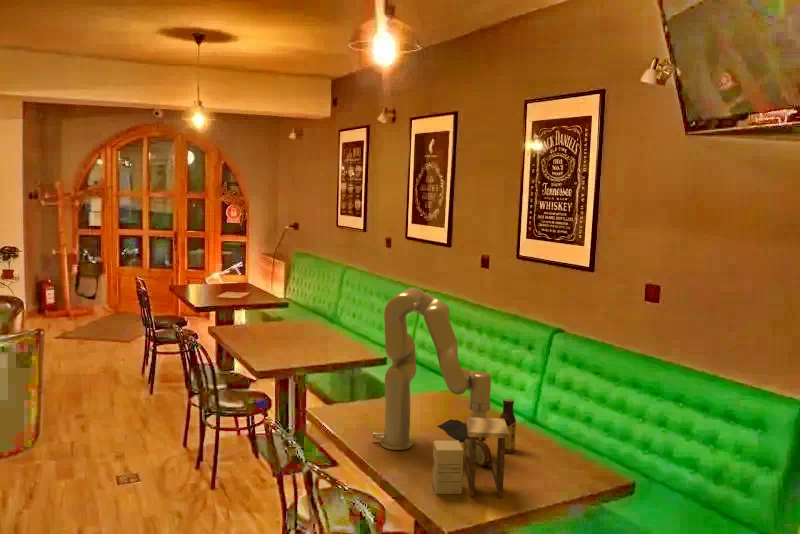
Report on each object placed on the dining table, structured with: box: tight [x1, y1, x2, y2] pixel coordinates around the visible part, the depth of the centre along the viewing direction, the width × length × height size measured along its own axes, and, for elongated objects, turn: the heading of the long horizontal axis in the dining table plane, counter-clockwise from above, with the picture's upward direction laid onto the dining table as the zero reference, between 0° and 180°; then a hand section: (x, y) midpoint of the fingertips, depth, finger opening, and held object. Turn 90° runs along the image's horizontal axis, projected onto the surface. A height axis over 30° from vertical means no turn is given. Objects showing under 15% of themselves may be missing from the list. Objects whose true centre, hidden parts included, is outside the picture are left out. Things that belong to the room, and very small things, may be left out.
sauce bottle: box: [499, 398, 517, 454], centre depth 262 cm, size 7×6×20 cm
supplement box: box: [431, 440, 465, 495], centre depth 227 cm, size 9×9×15 cm
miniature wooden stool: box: [464, 416, 510, 499], centre depth 234 cm, size 13×27×22 cm, turn 178°
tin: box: [463, 437, 493, 467], centre depth 251 cm, size 15×3×8 cm, turn 28°
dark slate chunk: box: [436, 419, 490, 443], centre depth 280 cm, size 15×22×5 cm
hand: (477, 452), depth 257 cm, fingers closed
